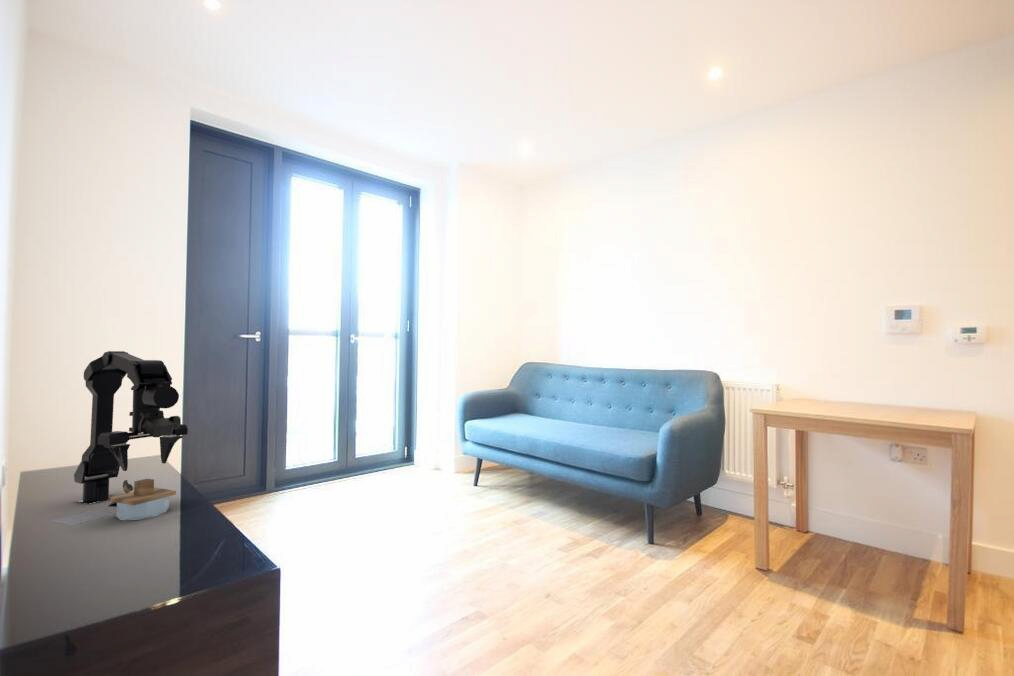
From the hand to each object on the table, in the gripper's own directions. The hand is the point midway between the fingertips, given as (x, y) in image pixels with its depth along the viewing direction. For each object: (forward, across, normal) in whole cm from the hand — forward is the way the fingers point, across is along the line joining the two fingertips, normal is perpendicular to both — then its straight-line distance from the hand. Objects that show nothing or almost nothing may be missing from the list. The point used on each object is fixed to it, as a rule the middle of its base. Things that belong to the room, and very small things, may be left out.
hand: (145, 466), depth 121 cm
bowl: (+12, 0, 0) cm, 13 cm away
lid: (+8, 0, 0) cm, 8 cm away
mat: (+12, -7, +12) cm, 19 cm away
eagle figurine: (+13, +4, +15) cm, 20 cm away
